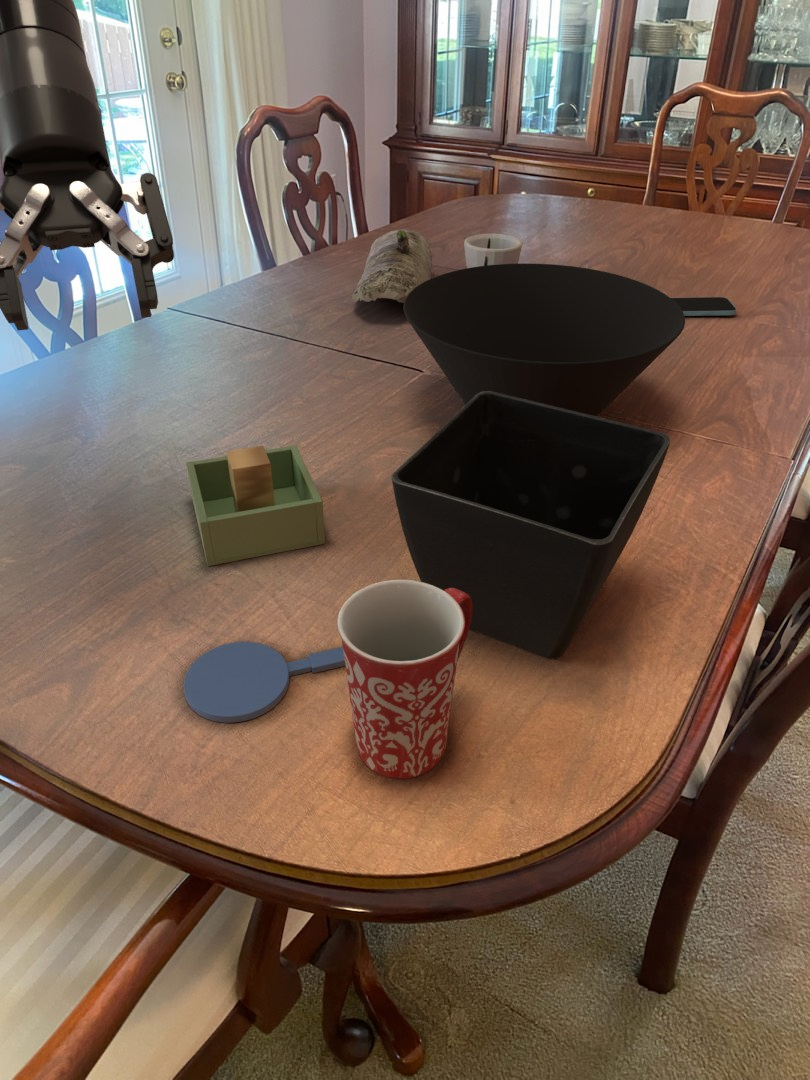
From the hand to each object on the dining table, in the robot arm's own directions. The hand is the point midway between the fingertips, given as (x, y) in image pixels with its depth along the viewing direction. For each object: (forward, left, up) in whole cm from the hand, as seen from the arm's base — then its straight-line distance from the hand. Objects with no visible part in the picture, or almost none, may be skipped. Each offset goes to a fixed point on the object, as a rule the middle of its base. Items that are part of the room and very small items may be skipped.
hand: (84, 319), depth 58 cm
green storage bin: (+12, +15, -30) cm, 36 cm away
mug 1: (+19, -19, -31) cm, 41 cm away
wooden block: (+12, +15, -30) cm, 36 cm away
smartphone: (+97, +57, -30) cm, 117 cm away
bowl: (+53, +30, -31) cm, 68 cm away
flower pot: (+34, -7, -31) cm, 46 cm away
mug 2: (+67, +77, -31) cm, 107 cm away
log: (+49, +80, -31) cm, 99 cm away
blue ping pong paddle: (+10, -9, -30) cm, 33 cm away
